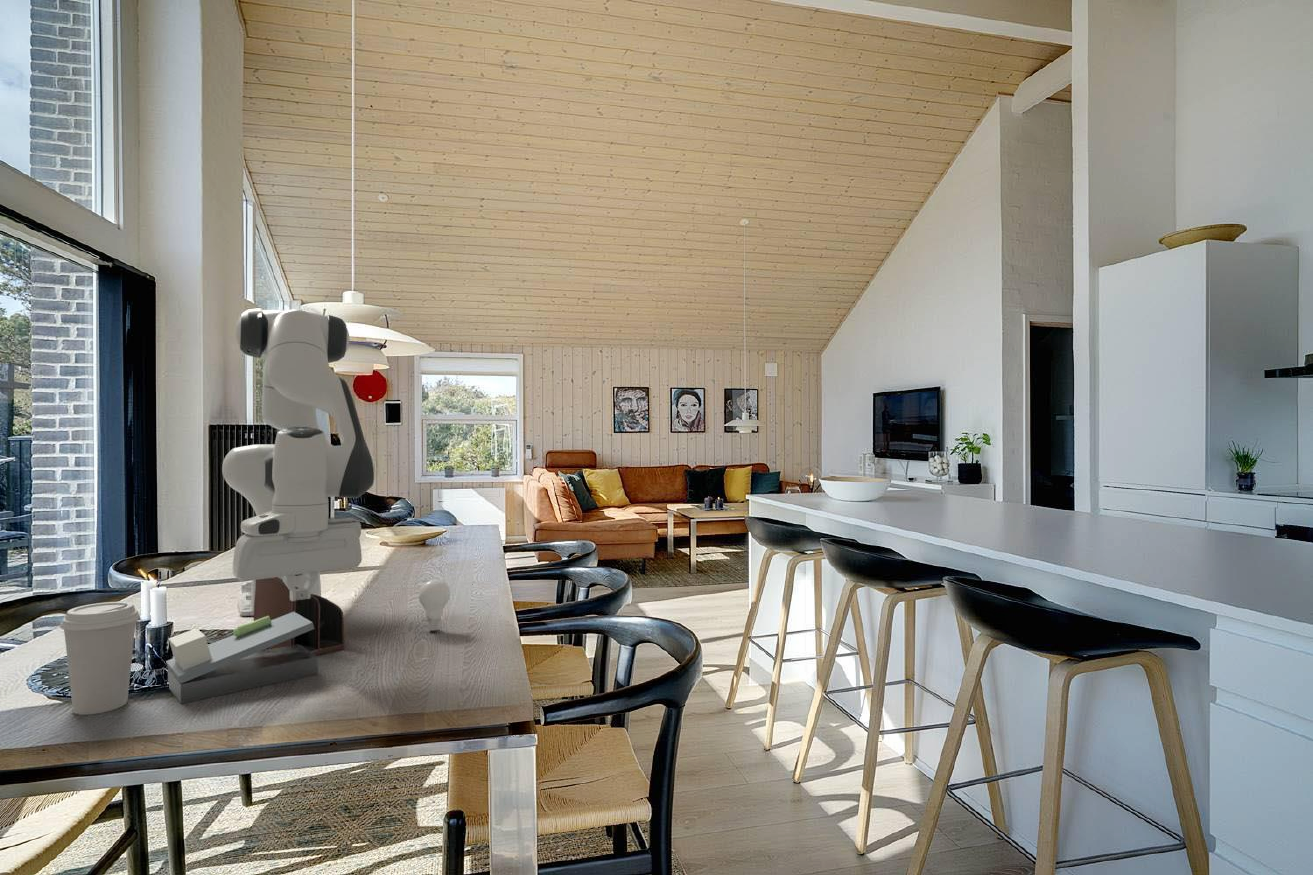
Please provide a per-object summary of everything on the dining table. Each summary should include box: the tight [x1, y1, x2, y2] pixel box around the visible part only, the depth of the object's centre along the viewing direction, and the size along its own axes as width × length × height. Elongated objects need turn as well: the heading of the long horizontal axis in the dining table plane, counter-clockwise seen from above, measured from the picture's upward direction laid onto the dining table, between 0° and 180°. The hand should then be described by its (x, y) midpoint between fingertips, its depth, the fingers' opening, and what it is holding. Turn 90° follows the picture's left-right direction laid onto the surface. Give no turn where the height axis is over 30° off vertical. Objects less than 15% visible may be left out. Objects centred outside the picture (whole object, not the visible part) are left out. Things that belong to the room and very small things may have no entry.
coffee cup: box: [59, 601, 141, 716], centre depth 107 cm, size 10×10×15 cm
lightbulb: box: [418, 578, 451, 633], centre depth 149 cm, size 6×6×11 cm
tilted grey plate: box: [165, 612, 314, 683], centre depth 118 cm, size 10×20×5 cm, turn 134°
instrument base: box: [167, 644, 319, 705], centre depth 119 cm, size 10×20×3 cm, turn 134°
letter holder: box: [253, 577, 345, 656], centre depth 139 cm, size 10×20×14 cm, turn 48°
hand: (300, 599), depth 123 cm, fingers closed
